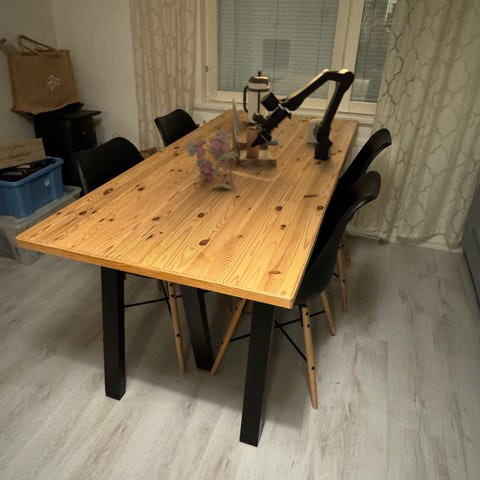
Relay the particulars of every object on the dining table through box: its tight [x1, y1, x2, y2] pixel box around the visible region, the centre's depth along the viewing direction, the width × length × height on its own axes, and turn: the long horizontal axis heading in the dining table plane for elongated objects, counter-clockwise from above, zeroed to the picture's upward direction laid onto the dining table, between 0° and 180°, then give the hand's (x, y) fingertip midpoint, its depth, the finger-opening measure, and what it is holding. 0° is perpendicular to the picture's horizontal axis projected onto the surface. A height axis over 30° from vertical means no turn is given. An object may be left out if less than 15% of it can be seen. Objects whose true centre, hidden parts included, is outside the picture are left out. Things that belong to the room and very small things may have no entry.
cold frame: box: [232, 96, 278, 168], centre depth 181 cm, size 18×28×25 cm, turn 4°
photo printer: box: [306, 117, 323, 144], centre depth 208 cm, size 10×4×12 cm, turn 98°
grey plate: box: [268, 135, 279, 146], centre depth 209 cm, size 12×12×2 cm
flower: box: [181, 128, 240, 192], centre depth 154 cm, size 20×22×25 cm
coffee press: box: [242, 70, 271, 125], centre depth 236 cm, size 17×16×30 cm
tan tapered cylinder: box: [246, 125, 260, 159], centre depth 183 cm, size 6×6×13 cm
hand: (250, 143), depth 183 cm, fingers open, 9 cm apart
